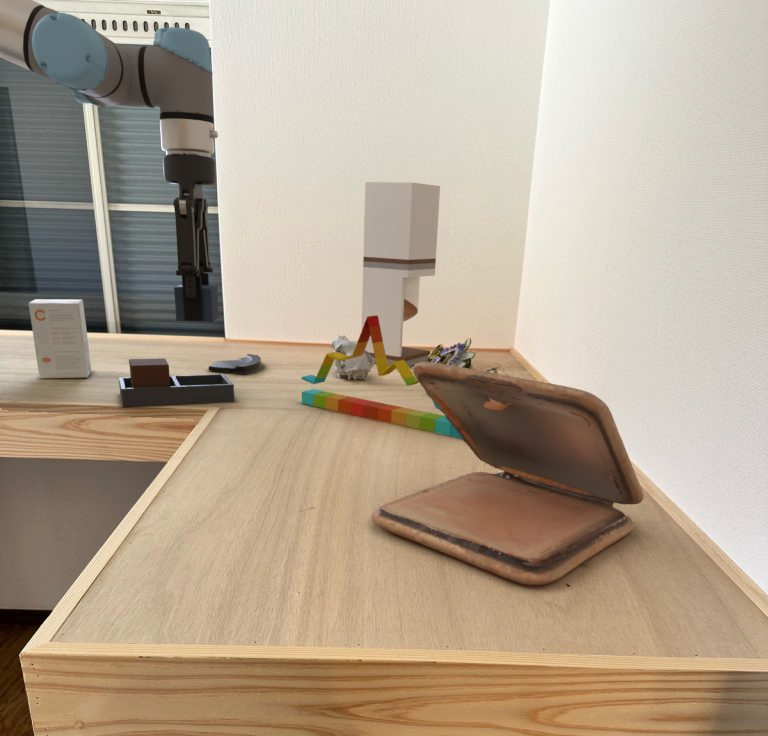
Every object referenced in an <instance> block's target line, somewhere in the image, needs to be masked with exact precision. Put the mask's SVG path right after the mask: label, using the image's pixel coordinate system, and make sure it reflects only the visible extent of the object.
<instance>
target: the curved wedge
mask: <svg viewBox="0 0 768 736" xmlns="http://www.w3.org/2000/svg"><path fill="white" fill-rule="evenodd" d="M261 360H262V358H261V356H259V355H258V354H251V353H246V356H245V357H239V358H236V359H232V360H230V359H228V360H218V361H216V362H214V363H212V364H210V365H208V370H209V371H212V372H222V373H230V374H240V375H249V374H253V373H256V372H257V371H259V370H260V369H261V368H262V364H261V362H262V361H261Z"/></svg>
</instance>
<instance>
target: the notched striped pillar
mask: <svg viewBox="0 0 768 736" xmlns="http://www.w3.org/2000/svg"><path fill="white" fill-rule="evenodd" d="M440 194H441V186H440V185H434V184H426V183H418V182H399V181H397V182H393V181H390V182H387V181H385V182H383V181H365V184H364V217H363V219H364V220H363V221H364V222H363V223H364V225H363V260H362V297H361V299H362V301H361V303H362V304H361V330H362V329H363V326H364V324H365V321H366V318H367V317H369V316H378V319H379V324H380V329H381V334H382V339H383V344H384V349H385V354H386V359H387V364H388V366H389V365H391V364H392V363H393V362H396V361H400V360H404V361H405V362H406V364H407V365H408V367H410V366H413V365H414V366H415V365H416V364H417V363H419V362H428V358H429V357H428V355H430V354H431V350H428V349H420V348H414V347H407V346H403V332H404V322H406V321H408V320H410V319H412V318H414V317H415V316H416V315H418V312H419V298H420V279H421V278H422V277H431V276H432V277H434V276H436V262H437V261H436V260H437V259H436V258H437V245H438V244H437V243H438V232H439V231H438V229H439V228H438V227H439V211H440ZM365 350H366V351H368V353H369V354H370V355H371V356H372V357H373V360H374V364H376V359H375V354H374V349H373V344H372V339H371V335H370V338H369V340H368V343H367V346H366V348H365ZM368 363H370V360H369V361H368Z"/></svg>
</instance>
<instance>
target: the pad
mask: <svg viewBox="0 0 768 736" xmlns="http://www.w3.org/2000/svg"><path fill="white" fill-rule="evenodd" d="M173 293H174V307H175V320H176V322H197V323H198V322H199V323H200V322H201V323H214V322H215V321H216V320H218V319H219V318H220V314H219V312H220V311H219V291H218V285H217V284H216V285H213V284H212V285H211V284H209V285H202V305H203V321H197V320H185V317H184V301H183V285H182V284H179V285H177V286H175V287H173Z"/></svg>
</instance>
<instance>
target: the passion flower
mask: <svg viewBox="0 0 768 736" xmlns="http://www.w3.org/2000/svg"><path fill="white" fill-rule="evenodd" d="M471 345H472V338H470V337H469V338H467V339H465V340H464V343H461V342H457V343H456V344H453V346H452V345H450V347H446V348H444V344H443V343H439V344H438V345H437V346H436V347H435V348H433V350H432V351H431V352H430V355H428V357H429V358H428V361H427V362H433V363H439V364H445V365H450V366H457V367H462V368H469V369H473V366H472V359H473V358H475V356H476V350H471V351H468V350H469V348H470V347H471ZM485 371H487V372H491V371H493V373H497V374H499V372H498V366H496V367H493V368H490V369H486V370H485Z"/></svg>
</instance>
